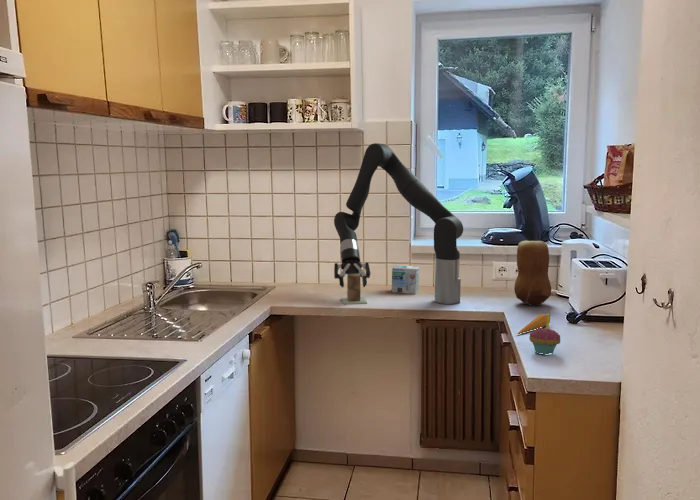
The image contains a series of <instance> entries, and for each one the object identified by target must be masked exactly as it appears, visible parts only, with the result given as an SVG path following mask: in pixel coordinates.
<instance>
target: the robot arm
mask: <svg viewBox="0 0 700 500" xmlns="http://www.w3.org/2000/svg"><path fill="white" fill-rule="evenodd" d="M362 158H363V159H362V162H361V164H360V167H359V172H358V175H357V178H356V180H355V182H354V186H353V188H352V190H351V192H350V194H349V197H348V198H347V201H346V203H345V206H346V208H347V209H349V210H351V211H352V214H351V213H348V212H345V211H339V212H337V213H335V215H334V218H333V224H334V227H335V229H336V232H337V234H338V236H339V242H340V247H339V248H340V257H341V264H340V263H338V262H335V263H334V265H333V267H334V268H333V269H334V270H333V271H334V272H333V274H334V275H333V276H334V279H338V281H339V286H340V287H341V288H344V285H345V282H344V277H346V276H347V274H359V275H360V279H361V281H362V287H363V288H365V287H366V286H367V280H368V279H369V278H370V277H371V274H372V273H371V270H370V265H369V262H365V263H362V262H361V257H360V256H361V255H360V247H359V243H358V237H357V233H356V232H355V231H356V230H357V229H358V227H359V225H360V218H361V215H362V214H361V213H362V209H363V208H364V205H365V204H366V201H367V198H368V197H369V194H370V187H371V182H372V178H373V176H374V173H375V172H376V170H377V169H378V167H380V168H381V169H382V170H384V171H385V172H386V173H387V175H388V176H390V177H391V178H392V180H393V182H394V185H395V186H396V190H397V191H398V192H399V193H400V195H401V196H402V197H403V199H405V200H406V202H407V203H408V204H409V205H411V206H412V207H413V208H414V209H416V210H418V211H420V212H421V213H422V214H424V215H425V216H427V217H429V218H430V219H431V220H432V221H433V222H434V224H435V225H434V226H433V250H434V254H435V265H434V266H435V267H434V268H435V270H434V271H435V273H434V302H435V303H438V304H442V305H443V304H445V305H453V304H459V303H461V286H462V285H461V282H462V280H461V279H462V278H460V258H461V255H460V253H461V252H460V250H458V245H457V239H459V238H460V237H461V236H462V235H463V234H464V225H463V223H462V221H461V220H460V219H459V218H458V217H457V216H456V215H455V214H453V212H451V211H450V210H449V209H448V208H446V207H445V206H444V205H443V203H441V202H440V201H439V199H437V198H436V196H435V195H434V194H433V193H432V191H430V190H429V188H427V187H426V185H425V184H424V183H423V182H422V181H421V180H420V179H419V178H418V177H417V176H416V175H415V174H414V173H413V172H412V171H411V170H410V169H409V168H408V167H406V165H405V164H403V162H402V161H401V160H400V159H399V157H398V155H396V153H395V152H394V151H393V149H392V148H391V147H390V146H389V145H387V144H385V143H376V142H375V143H371V144H369V145H368V146H367V147H366V150H365V151H364V155H363V157H362ZM362 268H363V269H362ZM340 269H341V270H342V271H341V272H340V274H339V270H340ZM363 270H365V272H364V271H363Z"/></svg>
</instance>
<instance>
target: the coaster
mask: <svg viewBox="0 0 700 500" xmlns="http://www.w3.org/2000/svg"><path fill="white" fill-rule="evenodd" d="M340 300H341V301H342V303H343V305H362V304H363V305H367V304H368V301H367V300H366V299H365V297H364V296H360V301H348V299H347V297H341V299H340Z"/></svg>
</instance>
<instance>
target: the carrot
mask: <svg viewBox="0 0 700 500" xmlns="http://www.w3.org/2000/svg"><path fill="white" fill-rule="evenodd" d="M547 315H548V314H544V313H540V314H538V316H536V317H535V318H534V319H533V320H531V321H530V322H529V323H527V324H526V325H525V326H523V328H521V330H519V331H518V332H517V333H516V334H520V333H523V332H527V331H530V330H534V329H537V328H540V327H543V326H546V324H547ZM550 322H551V318H550V319H549V324H550ZM543 328H544V327H543Z"/></svg>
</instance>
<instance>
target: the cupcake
mask: <svg viewBox="0 0 700 500" xmlns="http://www.w3.org/2000/svg"><path fill="white" fill-rule="evenodd" d="M546 315H547V324H546V327H543V328H538V329H536V330H534V331H531V332H529V333H530V334H529V342H531V343H532V345H533V347H534V352H535V351H536V352H538V353H543V354H549V353H553V354H554V351H555V349H556V347H557V345H559V344H560V343H561V334H559V332H557V331H556V330H554V329H551V328H549V326H550V323H549V319H550V320H551V317H550V316H551V314H550V310H549V311H548V313H547V314H546ZM536 352H535V353H536Z"/></svg>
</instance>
